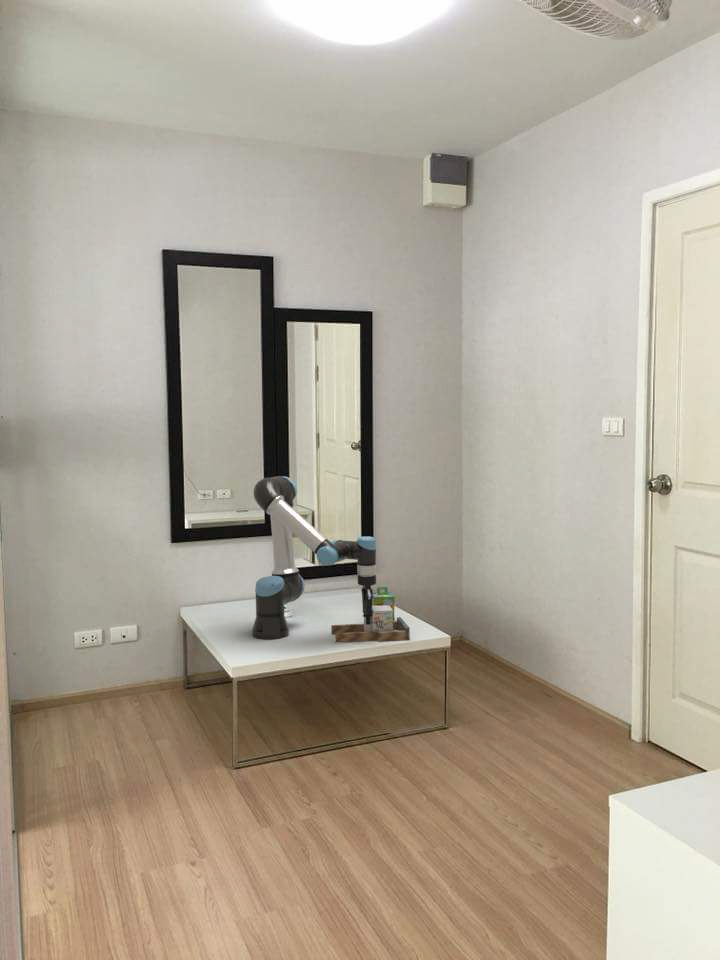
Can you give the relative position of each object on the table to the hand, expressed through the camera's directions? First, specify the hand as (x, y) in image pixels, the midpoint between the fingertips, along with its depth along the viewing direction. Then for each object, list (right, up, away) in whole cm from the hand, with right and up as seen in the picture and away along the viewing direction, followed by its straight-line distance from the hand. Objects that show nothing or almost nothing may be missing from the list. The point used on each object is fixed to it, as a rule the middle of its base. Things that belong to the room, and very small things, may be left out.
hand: (367, 631), depth 335 cm
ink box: (+6, -2, +1) cm, 6 cm away
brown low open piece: (+1, -2, 0) cm, 2 cm away
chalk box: (+7, 0, +25) cm, 26 cm away
